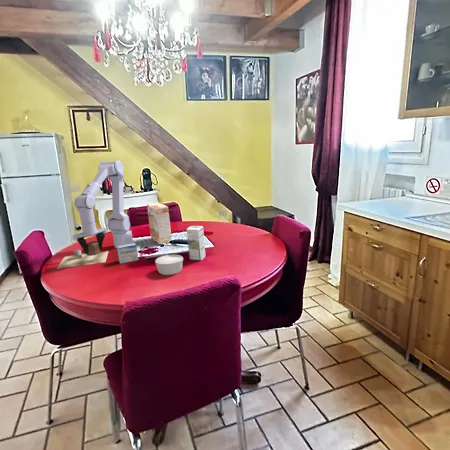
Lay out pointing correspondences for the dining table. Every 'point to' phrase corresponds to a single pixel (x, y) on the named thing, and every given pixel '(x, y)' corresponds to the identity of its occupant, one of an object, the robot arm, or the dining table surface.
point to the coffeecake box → (159, 223)
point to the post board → (82, 259)
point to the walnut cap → (93, 248)
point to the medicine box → (127, 253)
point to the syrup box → (196, 242)
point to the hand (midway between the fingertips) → (93, 251)
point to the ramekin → (169, 264)
